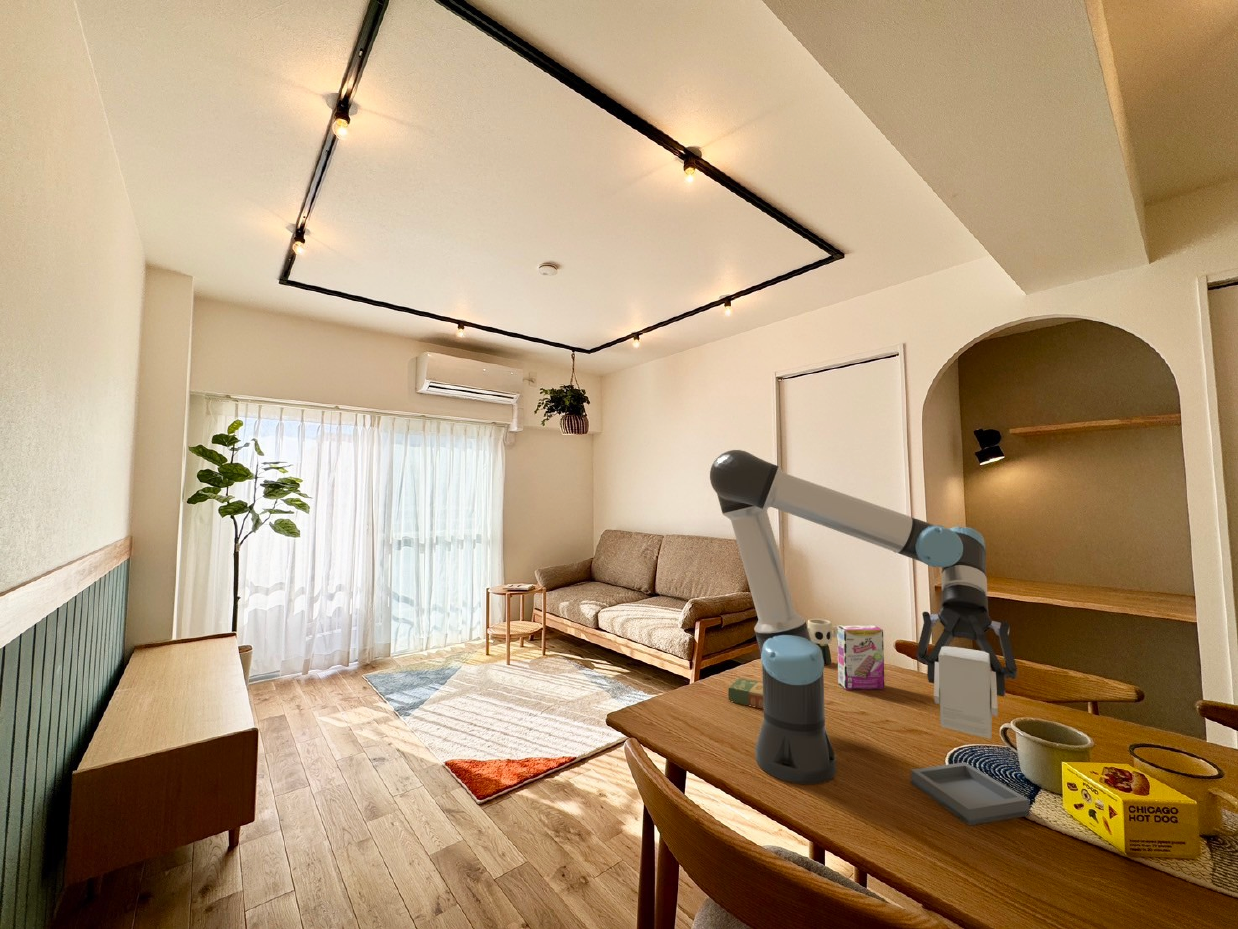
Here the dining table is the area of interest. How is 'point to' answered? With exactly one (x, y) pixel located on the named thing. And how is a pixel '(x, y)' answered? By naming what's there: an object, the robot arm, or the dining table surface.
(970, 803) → the holder tray
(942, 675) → the supplement box
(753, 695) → the carton
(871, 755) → the dining table surface
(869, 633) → the candy bar box
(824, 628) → the character mug
